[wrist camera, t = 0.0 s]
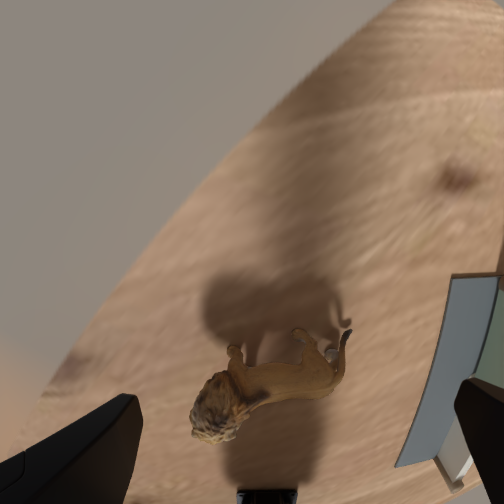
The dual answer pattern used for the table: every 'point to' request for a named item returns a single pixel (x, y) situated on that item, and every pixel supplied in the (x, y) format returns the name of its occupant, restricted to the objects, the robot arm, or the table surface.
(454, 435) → the fixed fence
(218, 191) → the table surface
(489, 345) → the fence panel
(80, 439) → the robot arm
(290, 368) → the lion figurine
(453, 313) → the card
